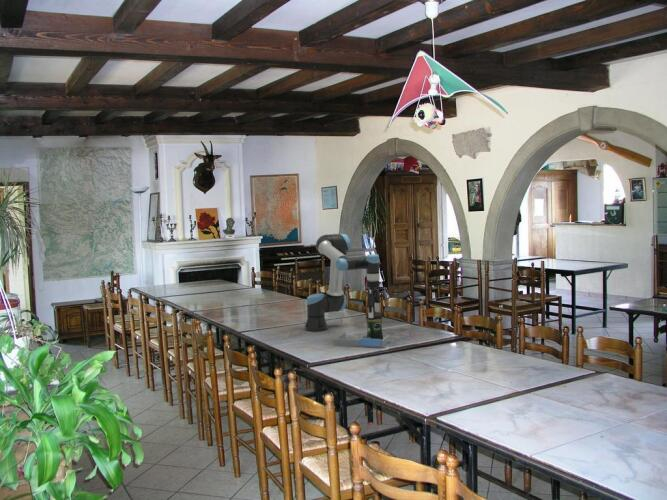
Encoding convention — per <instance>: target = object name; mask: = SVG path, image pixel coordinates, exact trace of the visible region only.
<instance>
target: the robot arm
mask: <svg viewBox="0 0 667 500" xmlns="http://www.w3.org/2000/svg"><path fill="white" fill-rule="evenodd" d="M315 242H316V243H315V248H316V251H317V252H318V253H319V254H320V255H324V256H325V257H327V258H328V259H329V260H330V267H329V268H330V270H329V282H328V283H329V284H328V290H326V294H324V293H320V292H319V293H313V294H310V295H308V296H307V297H306V315H307V319H306V322H305V325H304V329H305V331H307V332H323V331H326V330H328V329H329V328H328V326H329V325H328V323H327V320H326V318H325V317H326V316H325V315H326V313H335V312H342V311H344V310H345V308H346V306H347V296H346V295H345V294H344V293H345V292H344V291H343V290H342V289H343V277H344V275H343V273H344V272H346V271H357V270H366V274H365V276H366V280H367V281H366V287H367V288H369V289H368V295H367V303H366V307H367V309H368V312H367V313H368V315H369V318H373V312H379V313H380V303H381V295H380V291H379V290H380V287H381V285H380V279H381V278H380V276H381V275H380V256H379V254H375V253H371V254H370V253H369V254H367V255H366V256H365V255H363V256H361V255H360V256H356V257H348V256H347V252H350V250H351V247H352V245H351V240H350V237H349V236H348V234H347V233H332V234H323V235H321V236H320V237H318V239H317V240H316V241H315ZM373 305H374V306H373Z"/></svg>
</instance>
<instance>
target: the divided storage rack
mask: <svg viewBox="0 0 667 500" xmlns="http://www.w3.org/2000/svg"><path fill="white" fill-rule="evenodd" d="M390 336H391V335H390V334H387V335H386V336H385V337H383V339H382V340H381V339H367V333H365V334H363V335H362V336H361V337H359V338H347V333H346V332H343V333H341V334H340V335H339V336H337V337H334V339H333V345H334V346H336V345H341V346H340V347H356V346H359V348H361V347H362V348H377V347H378V349H379V348H380V349H384V348H385V346H386V345H388V344H389V343H390V342H391V341H390V340H391V337H390ZM388 342H389V343H388ZM387 343H388V344H387Z"/></svg>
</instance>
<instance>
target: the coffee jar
mask: <svg viewBox="0 0 667 500" xmlns="http://www.w3.org/2000/svg"><path fill="white" fill-rule="evenodd" d="M365 316H366V317H365V320H366V324H367V329H366V334H367V339H381V340H382V339H383V338H384V335H383V328H382V327H383V326H382V325H383V324H382V322H383V314H382V313H381V312H380V311H379V312H375V311H373V318H369V315H368V312H367V313H366V315H365Z"/></svg>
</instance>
